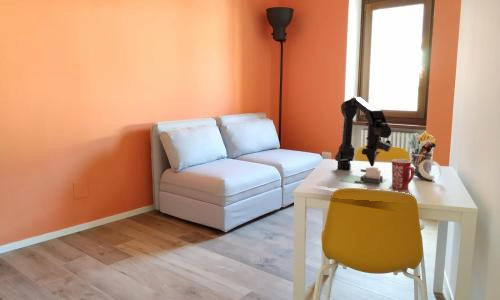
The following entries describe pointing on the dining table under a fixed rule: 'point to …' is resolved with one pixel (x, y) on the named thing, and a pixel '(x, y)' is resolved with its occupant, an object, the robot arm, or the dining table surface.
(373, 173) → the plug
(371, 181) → the header
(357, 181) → the board
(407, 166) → the mug
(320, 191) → the dining table surface
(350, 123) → the robot arm
